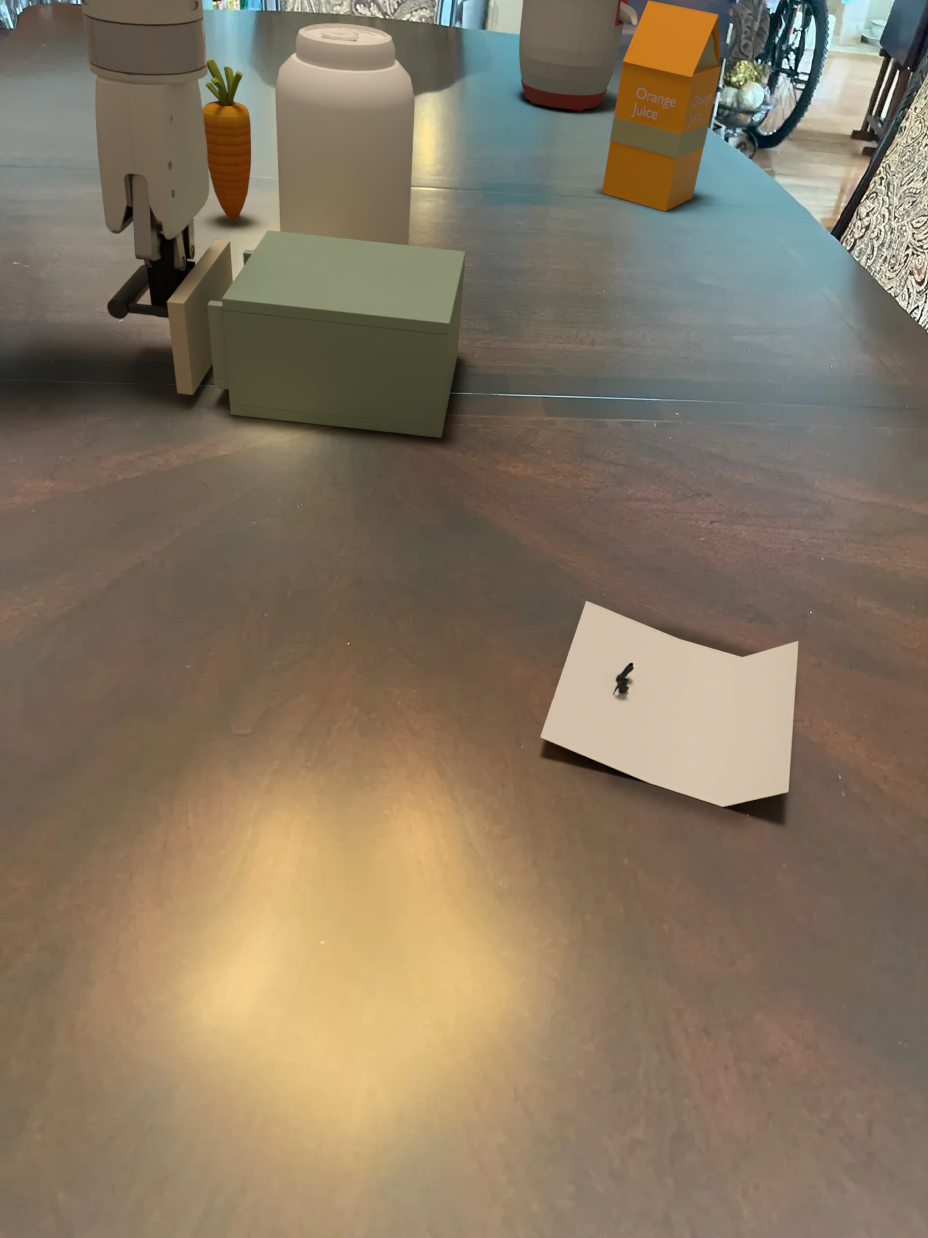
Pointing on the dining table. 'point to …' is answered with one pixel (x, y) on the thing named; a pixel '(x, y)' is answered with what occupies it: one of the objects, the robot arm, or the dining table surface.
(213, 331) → the drawer
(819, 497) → the dining table surface
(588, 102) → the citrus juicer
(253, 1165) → the dining table surface
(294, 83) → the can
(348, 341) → the grey-green cabinet box
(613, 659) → the folded paper
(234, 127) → the carrot
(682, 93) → the orange juice
